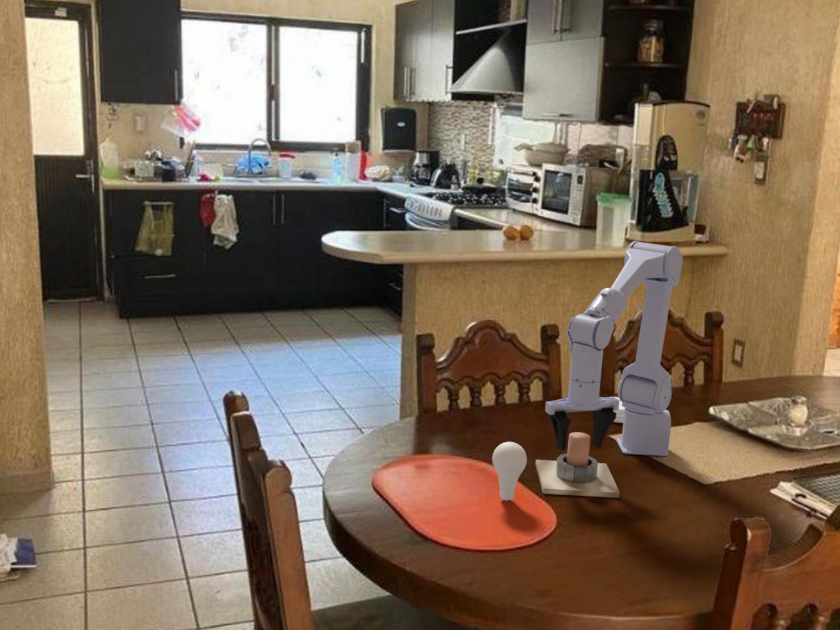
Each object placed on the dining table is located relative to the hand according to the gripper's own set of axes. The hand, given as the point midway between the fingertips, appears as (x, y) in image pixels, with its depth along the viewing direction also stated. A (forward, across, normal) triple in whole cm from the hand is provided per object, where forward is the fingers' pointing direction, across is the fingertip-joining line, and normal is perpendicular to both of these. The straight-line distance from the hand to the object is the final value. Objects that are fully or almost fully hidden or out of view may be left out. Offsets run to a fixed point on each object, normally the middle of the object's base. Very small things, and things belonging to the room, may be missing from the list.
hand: (578, 447), depth 170 cm
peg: (+6, 0, 0) cm, 6 cm away
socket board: (+7, 0, 0) cm, 7 cm away
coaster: (+7, -29, -32) cm, 44 cm away
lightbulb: (+7, +17, +6) cm, 19 cm away
